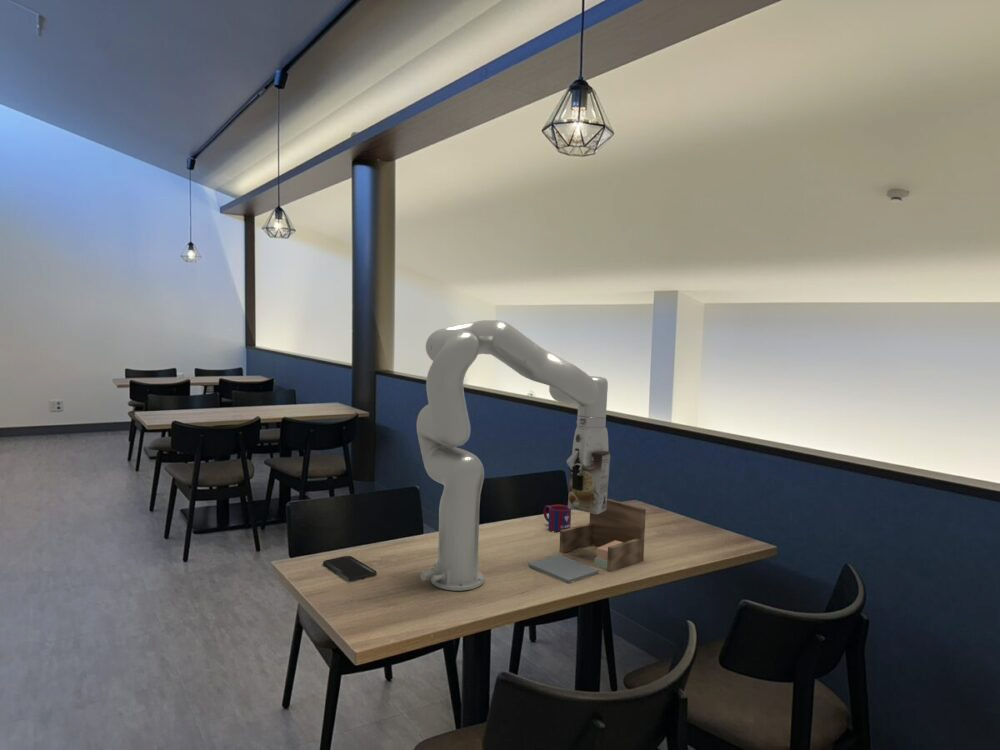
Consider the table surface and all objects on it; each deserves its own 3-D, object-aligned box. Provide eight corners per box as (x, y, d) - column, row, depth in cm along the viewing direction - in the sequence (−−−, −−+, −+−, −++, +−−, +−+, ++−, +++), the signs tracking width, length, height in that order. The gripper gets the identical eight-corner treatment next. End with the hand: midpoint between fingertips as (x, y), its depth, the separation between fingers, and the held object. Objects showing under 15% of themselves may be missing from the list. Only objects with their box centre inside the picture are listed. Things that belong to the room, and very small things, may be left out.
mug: (557, 534, 197) (558, 511, 196) (537, 525, 205) (538, 503, 204) (574, 530, 200) (575, 508, 200) (554, 522, 209) (555, 501, 208)
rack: (610, 571, 167) (612, 517, 166) (559, 552, 181) (561, 501, 180) (643, 560, 176) (645, 508, 175) (592, 542, 190) (594, 494, 189)
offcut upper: (608, 560, 169) (608, 551, 169) (596, 557, 171) (596, 548, 171) (626, 552, 176) (627, 543, 175) (615, 549, 178) (615, 540, 178)
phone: (349, 555, 172) (378, 572, 160) (349, 559, 172) (378, 576, 160) (320, 561, 166) (348, 579, 155) (320, 565, 167) (348, 584, 155)
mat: (568, 583, 158) (568, 580, 158) (528, 566, 169) (528, 563, 169) (598, 573, 166) (598, 570, 166) (558, 557, 176) (558, 554, 176)
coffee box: (566, 508, 177) (569, 449, 176) (576, 504, 182) (580, 446, 181) (598, 514, 172) (601, 453, 171) (607, 510, 177) (611, 451, 177)
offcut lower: (607, 571, 169) (607, 561, 168) (594, 567, 171) (594, 557, 171) (628, 562, 176) (629, 552, 176) (616, 558, 178) (616, 549, 178)
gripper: (579, 426, 167) (575, 494, 168) (623, 422, 179) (619, 487, 180) (558, 422, 173) (554, 488, 174) (601, 419, 184) (598, 481, 186)
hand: (587, 487), depth 177 cm, fingers closed on coffee box, 7 cm apart
